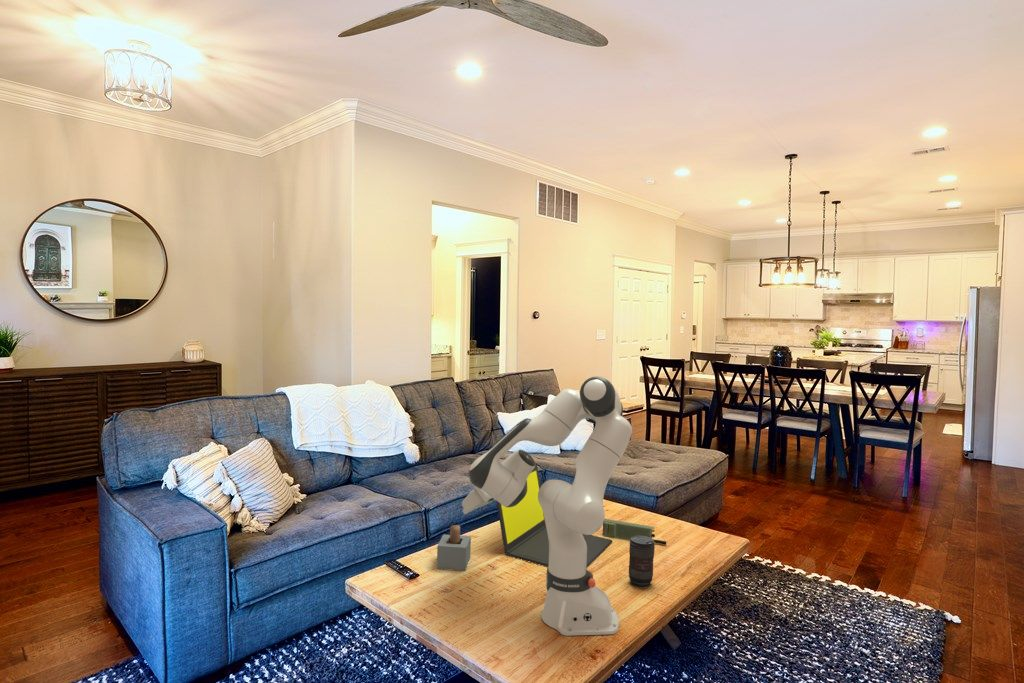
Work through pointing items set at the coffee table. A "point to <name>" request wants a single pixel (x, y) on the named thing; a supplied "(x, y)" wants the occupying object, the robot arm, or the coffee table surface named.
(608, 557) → the coffee table surface
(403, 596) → the coffee table surface
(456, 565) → the socket block
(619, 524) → the handheld radio
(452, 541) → the walnut peg
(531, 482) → the laptop
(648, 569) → the camera lens
